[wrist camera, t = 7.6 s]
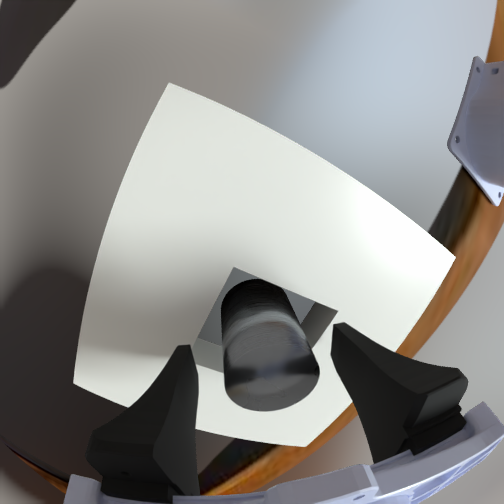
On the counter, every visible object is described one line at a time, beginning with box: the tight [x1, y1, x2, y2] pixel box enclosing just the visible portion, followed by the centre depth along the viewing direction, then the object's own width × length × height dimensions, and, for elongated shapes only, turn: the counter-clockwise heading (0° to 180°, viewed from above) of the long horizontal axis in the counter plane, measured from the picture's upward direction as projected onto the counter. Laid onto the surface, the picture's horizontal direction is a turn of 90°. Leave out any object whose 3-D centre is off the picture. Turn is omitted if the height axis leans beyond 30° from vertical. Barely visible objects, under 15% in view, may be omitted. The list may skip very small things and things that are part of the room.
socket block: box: [74, 83, 456, 447], centre depth 15 cm, size 18×18×2 cm
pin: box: [221, 279, 320, 412], centre depth 14 cm, size 4×4×6 cm
